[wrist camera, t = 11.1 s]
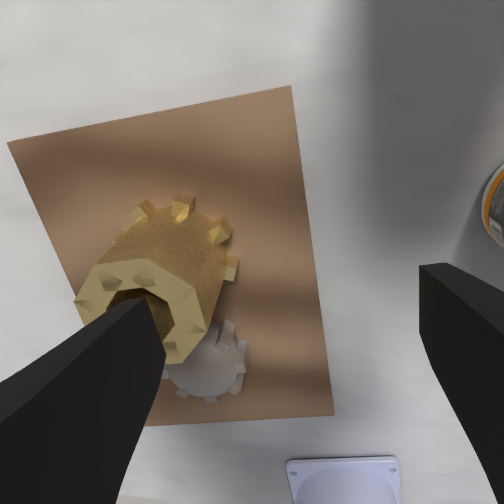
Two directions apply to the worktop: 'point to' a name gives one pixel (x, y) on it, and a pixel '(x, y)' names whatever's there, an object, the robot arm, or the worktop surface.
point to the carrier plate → (238, 244)
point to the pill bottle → (494, 207)
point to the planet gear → (164, 272)
